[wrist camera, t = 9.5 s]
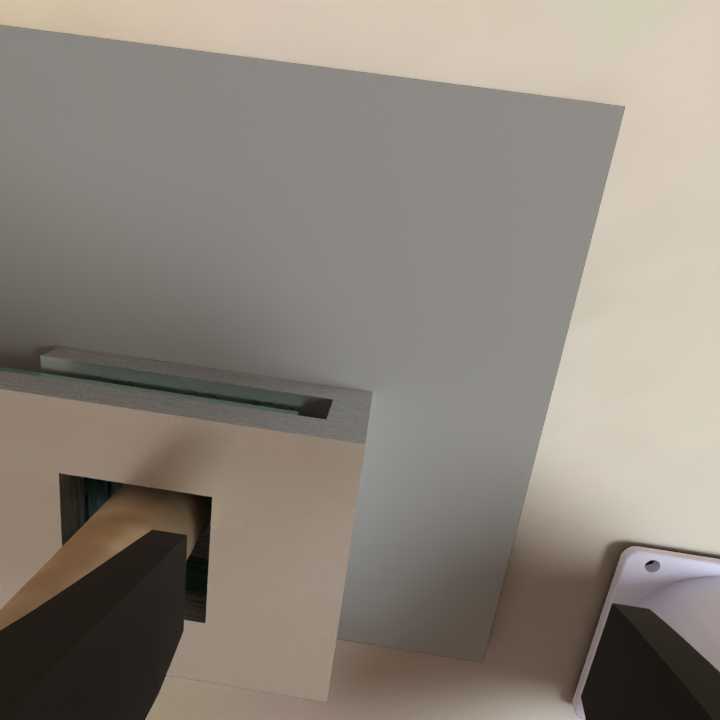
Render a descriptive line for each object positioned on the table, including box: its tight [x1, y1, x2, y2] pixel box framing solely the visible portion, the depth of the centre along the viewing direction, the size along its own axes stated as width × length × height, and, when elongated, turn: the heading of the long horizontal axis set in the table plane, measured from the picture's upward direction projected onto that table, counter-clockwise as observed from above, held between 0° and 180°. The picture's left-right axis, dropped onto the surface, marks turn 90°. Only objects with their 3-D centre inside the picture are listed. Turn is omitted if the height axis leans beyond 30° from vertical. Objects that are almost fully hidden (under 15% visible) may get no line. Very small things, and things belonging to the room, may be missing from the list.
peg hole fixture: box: [0, 346, 373, 702], centre depth 17 cm, size 15×9×4 cm, turn 82°
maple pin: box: [0, 483, 212, 630], centre depth 15 cm, size 3×3×9 cm
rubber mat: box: [0, 25, 625, 663], centre depth 18 cm, size 22×20×1 cm
